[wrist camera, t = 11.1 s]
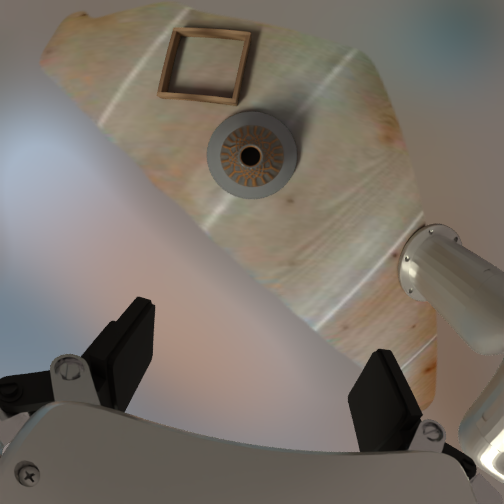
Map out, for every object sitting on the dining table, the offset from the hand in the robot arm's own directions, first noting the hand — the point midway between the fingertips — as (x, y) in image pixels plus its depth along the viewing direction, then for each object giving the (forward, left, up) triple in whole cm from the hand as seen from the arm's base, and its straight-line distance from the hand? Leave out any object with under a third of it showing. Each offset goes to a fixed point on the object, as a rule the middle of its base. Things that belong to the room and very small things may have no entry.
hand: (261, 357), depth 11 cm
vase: (+2, -7, -27) cm, 28 cm away
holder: (+11, -18, -28) cm, 35 cm away
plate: (+3, -7, -28) cm, 29 cm away
